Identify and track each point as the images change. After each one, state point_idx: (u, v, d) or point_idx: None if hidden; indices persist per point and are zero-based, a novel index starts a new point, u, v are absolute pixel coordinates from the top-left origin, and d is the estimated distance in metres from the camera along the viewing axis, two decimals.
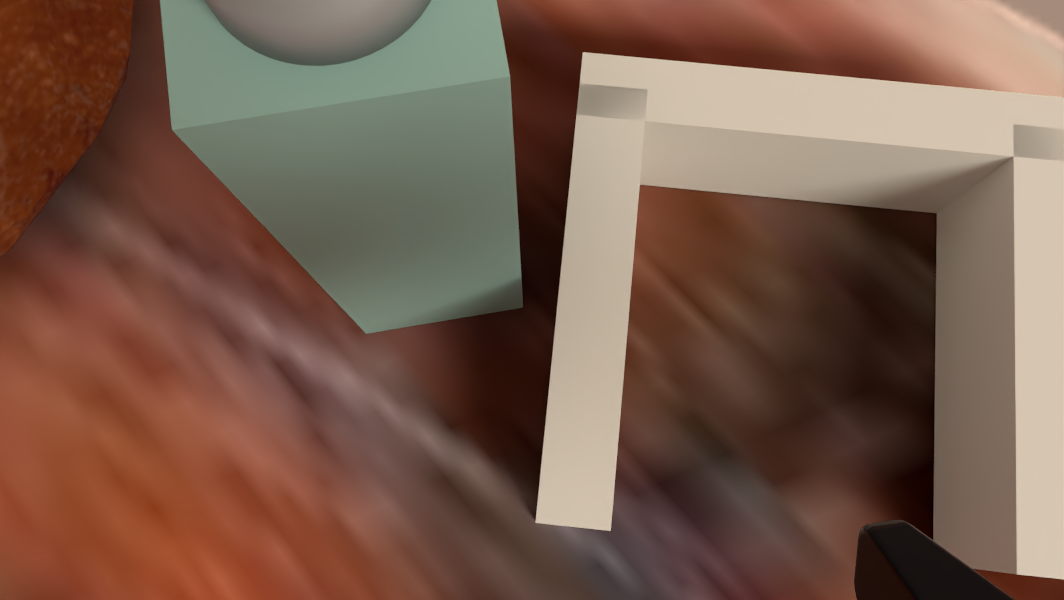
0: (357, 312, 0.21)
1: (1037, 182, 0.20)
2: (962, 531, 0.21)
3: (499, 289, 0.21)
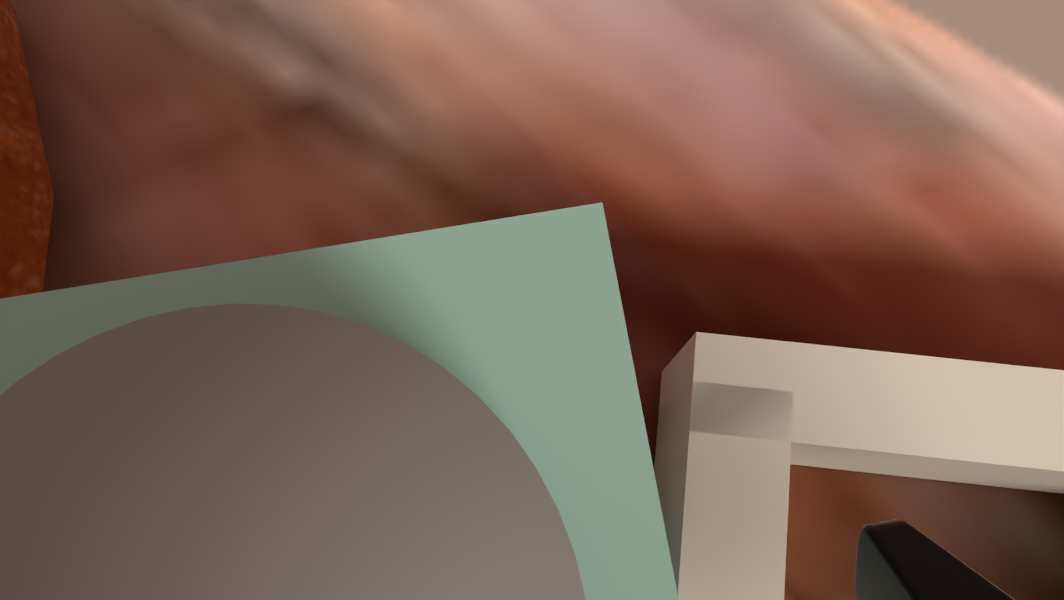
0: None
1: None
2: None
3: None
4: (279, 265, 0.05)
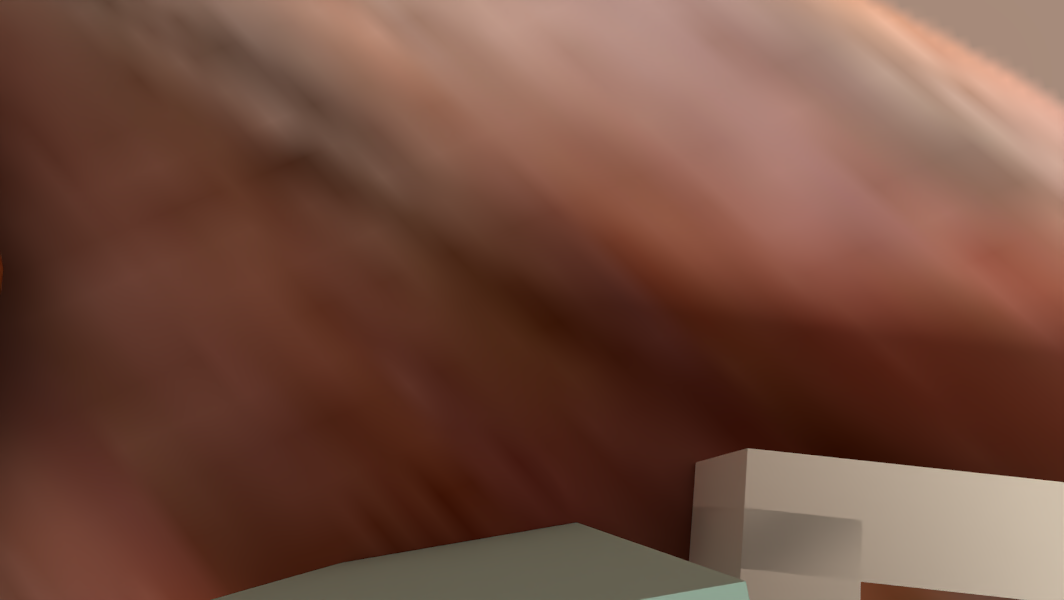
0: None
1: None
2: None
3: None
4: None
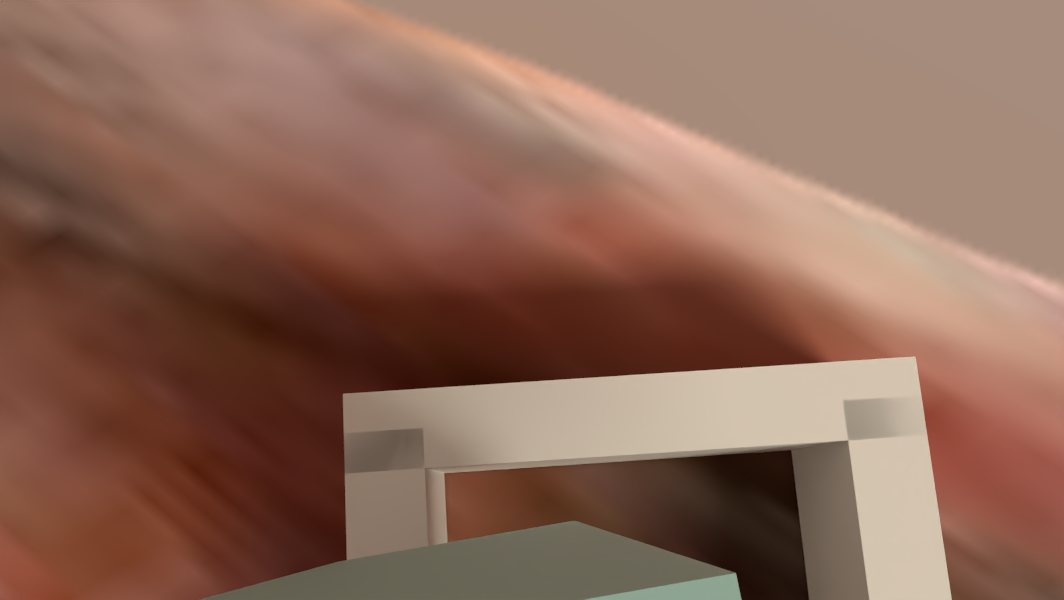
0: None
1: (879, 467, 0.18)
2: None
3: None
4: None
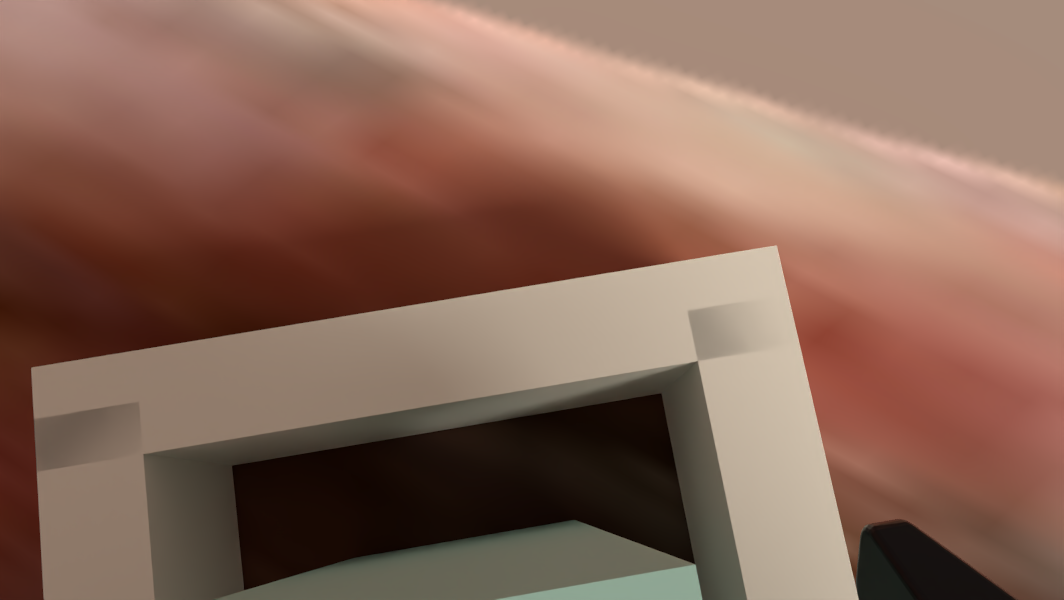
0: None
1: (740, 392, 0.13)
2: None
3: None
4: None
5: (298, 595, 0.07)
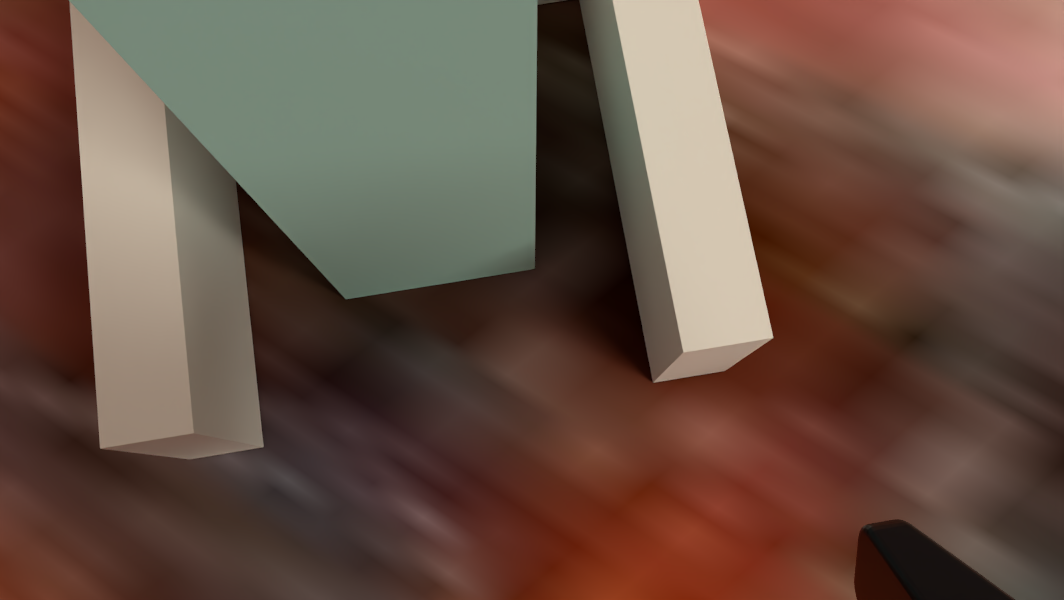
0: (332, 269, 0.17)
1: None
2: (655, 332, 0.18)
3: (507, 242, 0.17)
4: None
5: None
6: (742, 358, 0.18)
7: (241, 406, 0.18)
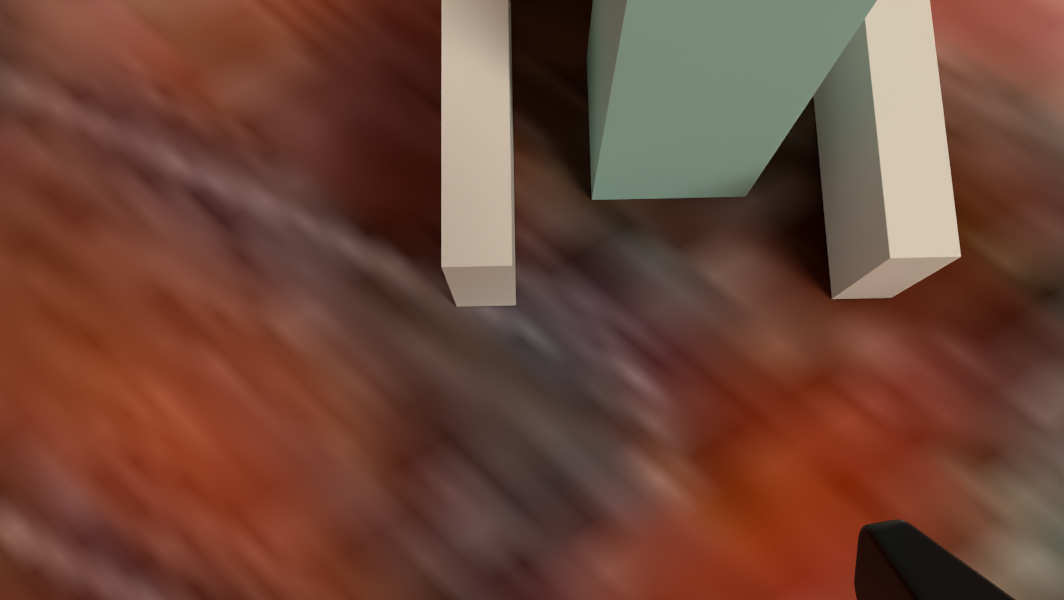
0: (607, 166, 0.22)
1: None
2: (849, 253, 0.22)
3: (745, 164, 0.22)
4: None
5: None
6: (917, 281, 0.22)
7: (514, 266, 0.23)
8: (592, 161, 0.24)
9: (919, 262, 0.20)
